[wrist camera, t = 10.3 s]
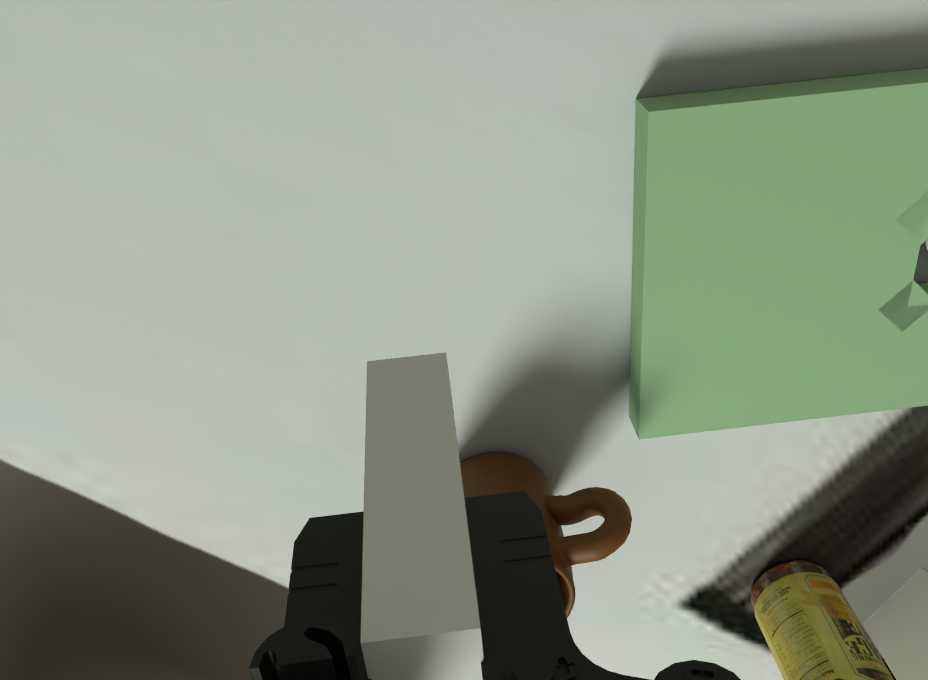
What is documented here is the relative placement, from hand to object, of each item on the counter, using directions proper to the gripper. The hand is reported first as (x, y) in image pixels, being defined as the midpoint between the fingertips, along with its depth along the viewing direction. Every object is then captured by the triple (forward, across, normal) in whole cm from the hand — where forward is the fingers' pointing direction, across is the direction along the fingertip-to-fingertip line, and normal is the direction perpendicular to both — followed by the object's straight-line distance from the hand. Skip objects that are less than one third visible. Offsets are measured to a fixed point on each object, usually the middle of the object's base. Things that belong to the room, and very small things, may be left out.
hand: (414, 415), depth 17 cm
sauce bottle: (+30, +24, -40) cm, 55 cm away
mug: (+30, +5, -27) cm, 40 cm away
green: (+29, +24, -13) cm, 40 cm away
